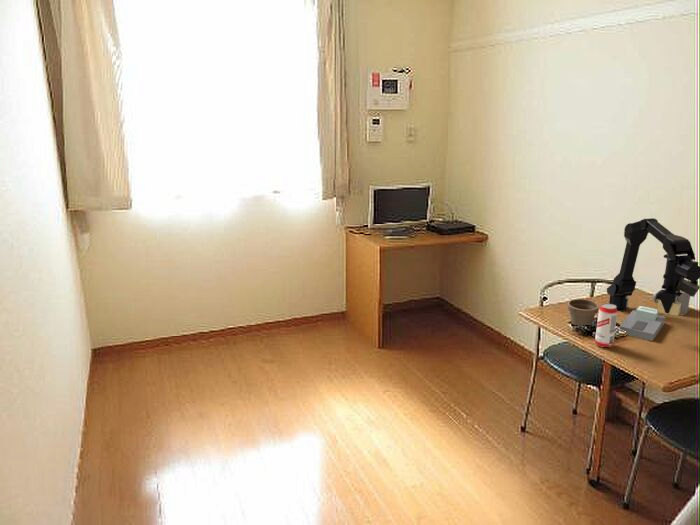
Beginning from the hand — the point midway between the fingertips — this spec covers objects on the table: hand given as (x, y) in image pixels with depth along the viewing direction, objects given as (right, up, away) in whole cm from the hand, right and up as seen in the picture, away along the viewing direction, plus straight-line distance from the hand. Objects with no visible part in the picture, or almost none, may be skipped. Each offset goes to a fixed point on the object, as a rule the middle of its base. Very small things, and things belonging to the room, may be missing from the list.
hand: (668, 312), depth 201 cm
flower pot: (-26, -8, +17) cm, 32 cm away
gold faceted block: (0, 0, 0) cm, 0 cm away
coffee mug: (+19, -2, +30) cm, 36 cm away
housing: (-2, -8, +14) cm, 16 cm away
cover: (+1, -3, +17) cm, 18 cm away
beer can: (-24, -13, +1) cm, 27 cm away
